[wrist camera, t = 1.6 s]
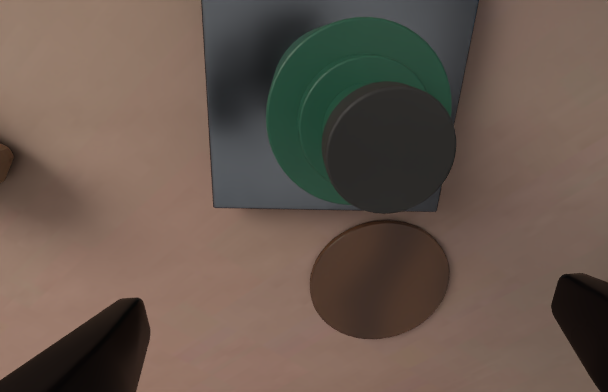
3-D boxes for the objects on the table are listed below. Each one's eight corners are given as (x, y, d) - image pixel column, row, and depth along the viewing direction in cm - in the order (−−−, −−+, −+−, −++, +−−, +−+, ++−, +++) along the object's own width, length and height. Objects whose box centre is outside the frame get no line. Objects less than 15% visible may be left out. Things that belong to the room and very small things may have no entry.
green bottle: (408, 27, 16) (560, 13, 7) (389, 157, 19) (488, 268, 10) (272, 21, 16) (256, -3, 7) (271, 154, 18) (258, 266, 9)
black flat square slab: (467, -39, 17) (489, -48, 15) (424, 197, 22) (437, 212, 20) (206, -55, 16) (196, -67, 15) (219, 193, 21) (213, 208, 19)
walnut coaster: (460, 221, 23) (462, 224, 22) (433, 334, 26) (435, 339, 26) (313, 218, 22) (314, 221, 22) (306, 335, 26) (307, 339, 25)
